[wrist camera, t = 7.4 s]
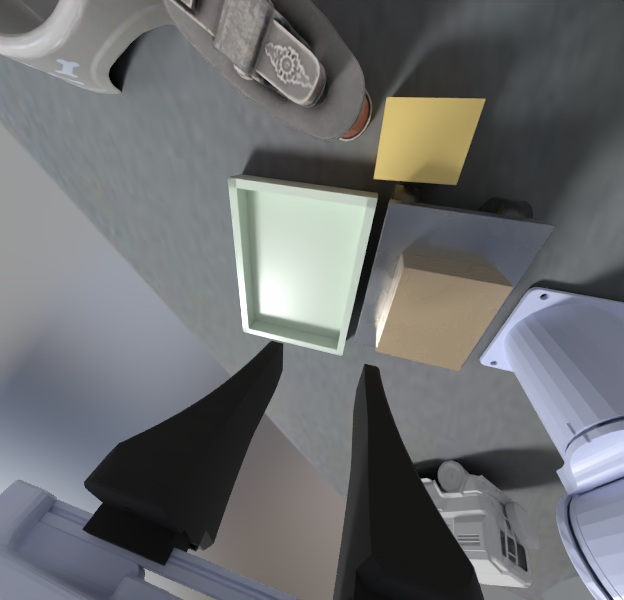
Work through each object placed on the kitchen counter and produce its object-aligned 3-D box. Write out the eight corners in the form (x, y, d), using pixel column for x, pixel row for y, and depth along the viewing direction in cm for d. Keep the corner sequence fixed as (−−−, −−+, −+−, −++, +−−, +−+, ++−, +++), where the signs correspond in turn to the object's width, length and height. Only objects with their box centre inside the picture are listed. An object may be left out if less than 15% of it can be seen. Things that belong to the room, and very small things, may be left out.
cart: (516, 195, 15) (593, 228, 9) (444, 329, 21) (466, 396, 16) (390, 179, 16) (394, 200, 11) (358, 311, 22) (350, 367, 17)
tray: (378, 192, 17) (377, 198, 15) (344, 341, 25) (342, 355, 23) (241, 174, 18) (227, 177, 17) (252, 319, 26) (243, 331, 25)
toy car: (356, 473, 40) (349, 558, 32) (479, 447, 29) (517, 568, 21) (397, 502, 42) (401, 589, 34) (527, 488, 31) (578, 612, 23)
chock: (467, 106, 13) (485, 98, 11) (444, 178, 15) (456, 185, 13) (386, 104, 14) (386, 97, 12) (374, 173, 16) (373, 179, 14)
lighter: (386, 98, 14) (388, 40, 6) (349, 155, 16) (314, 170, 8) (269, -5, 13) (75, -252, 5) (245, 69, 15) (78, -16, 7)
